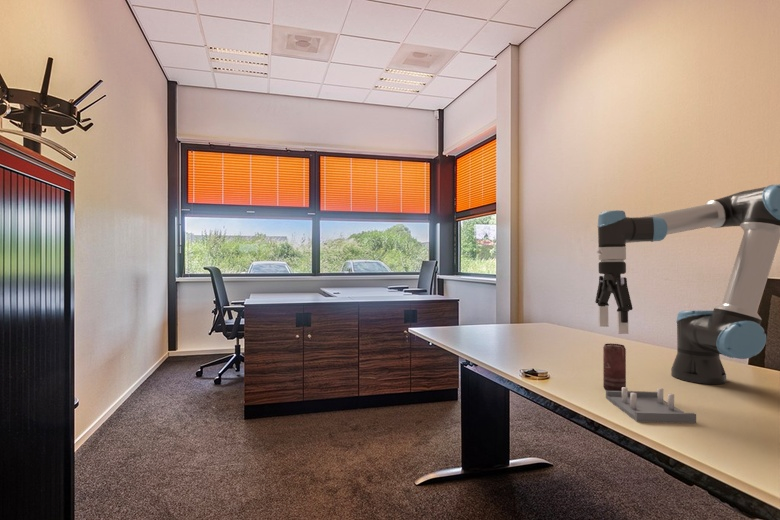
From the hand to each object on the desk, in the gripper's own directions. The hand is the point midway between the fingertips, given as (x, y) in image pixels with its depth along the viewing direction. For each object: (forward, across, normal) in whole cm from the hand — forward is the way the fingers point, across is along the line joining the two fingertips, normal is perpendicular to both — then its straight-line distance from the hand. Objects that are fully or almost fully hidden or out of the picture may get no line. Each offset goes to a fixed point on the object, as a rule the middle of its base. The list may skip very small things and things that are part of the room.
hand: (612, 329), depth 131 cm
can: (+19, 0, 0) cm, 19 cm away
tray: (+19, +17, +1) cm, 25 cm away
